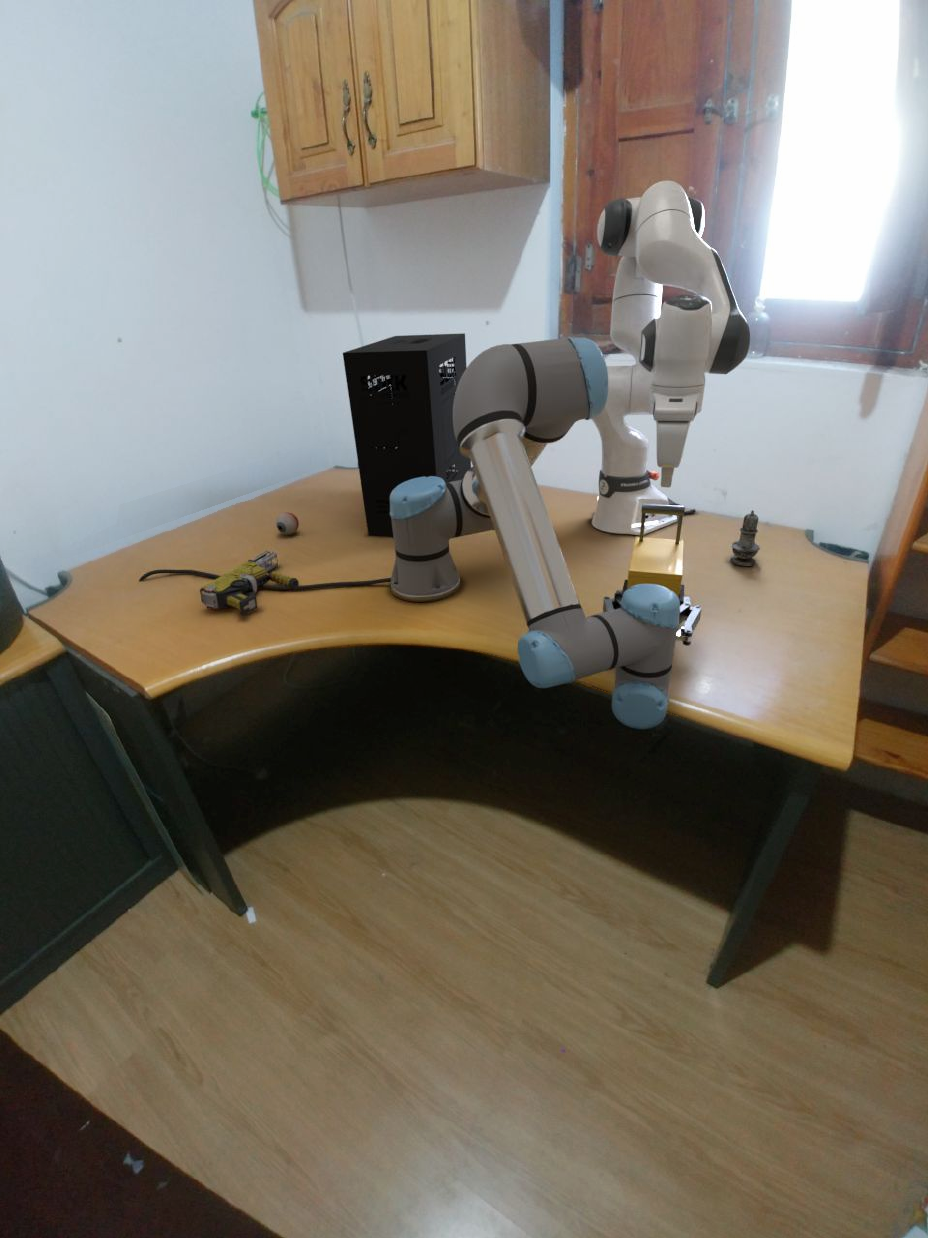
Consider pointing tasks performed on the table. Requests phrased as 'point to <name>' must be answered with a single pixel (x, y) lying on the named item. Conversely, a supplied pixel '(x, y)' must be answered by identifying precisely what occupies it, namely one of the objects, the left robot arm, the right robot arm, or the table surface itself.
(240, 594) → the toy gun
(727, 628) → the table surface
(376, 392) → the cardboard box
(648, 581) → the chest
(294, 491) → the table surface
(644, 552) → the lid
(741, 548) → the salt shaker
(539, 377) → the left robot arm
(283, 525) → the eyeball
